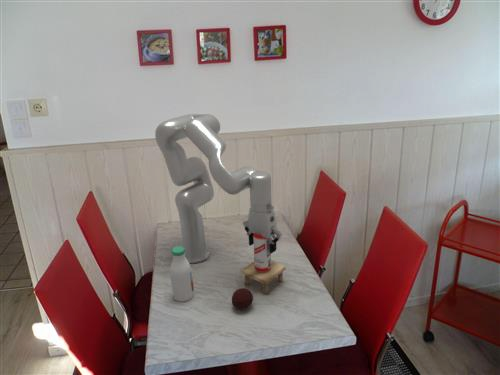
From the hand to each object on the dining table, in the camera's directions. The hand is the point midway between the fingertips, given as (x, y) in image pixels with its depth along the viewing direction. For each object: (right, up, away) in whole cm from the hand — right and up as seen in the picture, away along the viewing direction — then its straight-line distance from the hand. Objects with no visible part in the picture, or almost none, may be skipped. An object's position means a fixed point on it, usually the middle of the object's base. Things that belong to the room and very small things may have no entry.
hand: (262, 247), depth 152 cm
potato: (-7, -20, -7) cm, 22 cm away
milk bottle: (-29, -18, 0) cm, 34 cm away
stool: (+1, -14, +6) cm, 15 cm away
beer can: (0, -9, +3) cm, 9 cm away
